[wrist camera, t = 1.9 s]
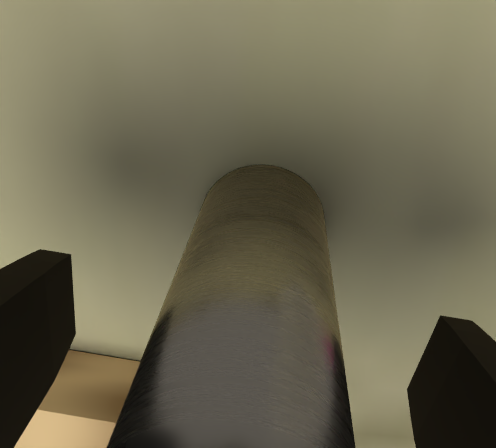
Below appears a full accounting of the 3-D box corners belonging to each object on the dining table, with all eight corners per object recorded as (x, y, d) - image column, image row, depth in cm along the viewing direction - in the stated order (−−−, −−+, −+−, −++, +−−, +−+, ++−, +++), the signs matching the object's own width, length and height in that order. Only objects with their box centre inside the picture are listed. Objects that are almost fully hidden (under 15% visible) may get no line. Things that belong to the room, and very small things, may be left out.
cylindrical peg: (337, 176, 12) (400, 450, 5) (310, 282, 14) (328, 598, 7) (207, 155, 12) (90, 398, 5) (196, 263, 14) (96, 558, 7)
